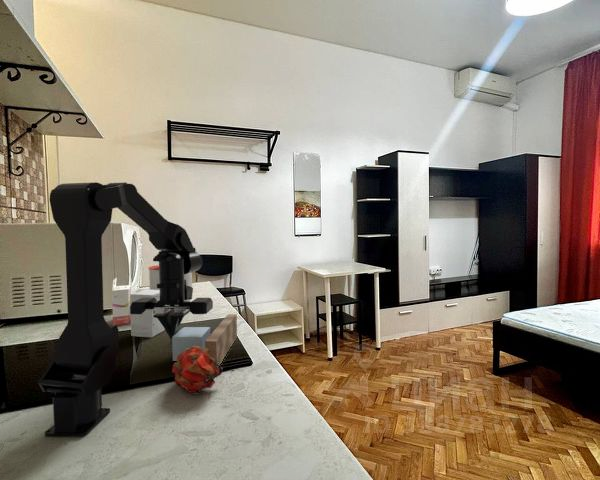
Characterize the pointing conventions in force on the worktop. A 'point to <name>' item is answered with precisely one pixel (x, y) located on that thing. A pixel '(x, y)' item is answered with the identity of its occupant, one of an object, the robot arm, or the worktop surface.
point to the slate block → (189, 339)
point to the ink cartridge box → (121, 303)
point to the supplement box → (145, 316)
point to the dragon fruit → (195, 369)
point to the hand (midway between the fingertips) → (173, 339)
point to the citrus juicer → (155, 279)
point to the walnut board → (222, 338)
